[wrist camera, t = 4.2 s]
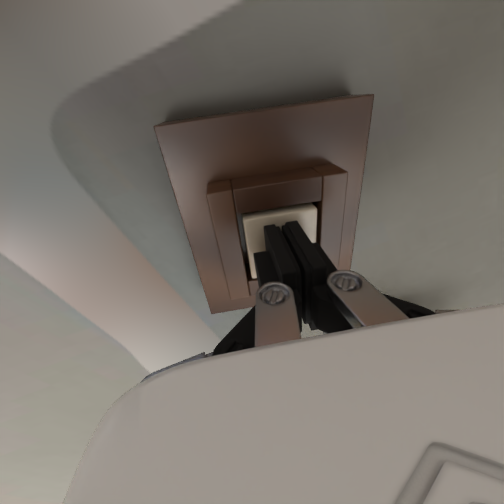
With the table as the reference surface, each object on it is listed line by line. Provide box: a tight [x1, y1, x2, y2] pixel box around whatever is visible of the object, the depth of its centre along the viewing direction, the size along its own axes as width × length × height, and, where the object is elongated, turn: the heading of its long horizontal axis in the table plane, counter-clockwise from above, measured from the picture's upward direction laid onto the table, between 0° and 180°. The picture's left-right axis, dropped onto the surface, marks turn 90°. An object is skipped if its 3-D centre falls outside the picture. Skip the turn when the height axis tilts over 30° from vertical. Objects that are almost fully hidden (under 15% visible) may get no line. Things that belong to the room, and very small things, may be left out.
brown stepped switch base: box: [154, 94, 374, 314], centre depth 14 cm, size 12×10×4 cm
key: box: [241, 202, 317, 278], centre depth 13 cm, size 4×4×2 cm
